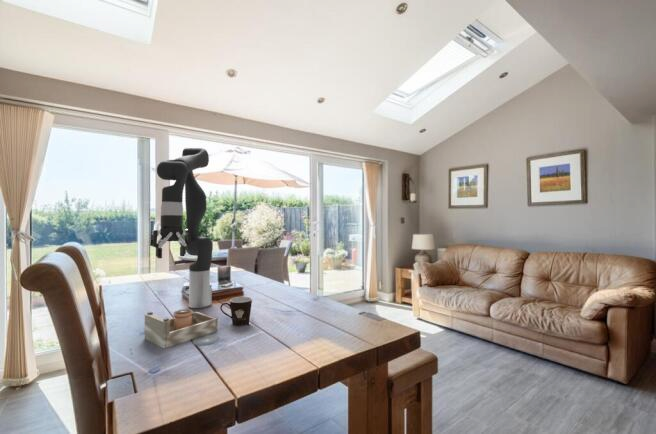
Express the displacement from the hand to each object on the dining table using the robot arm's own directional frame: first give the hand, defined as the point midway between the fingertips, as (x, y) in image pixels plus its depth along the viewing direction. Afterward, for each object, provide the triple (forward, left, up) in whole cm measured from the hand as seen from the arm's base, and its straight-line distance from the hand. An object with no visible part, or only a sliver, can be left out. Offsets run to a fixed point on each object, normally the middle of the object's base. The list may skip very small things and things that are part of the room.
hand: (171, 257), depth 117 cm
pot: (0, +8, -27) cm, 28 cm away
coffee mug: (-20, +14, -28) cm, 37 cm away
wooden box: (0, +8, -28) cm, 29 cm away
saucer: (-2, +20, -28) cm, 34 cm away
